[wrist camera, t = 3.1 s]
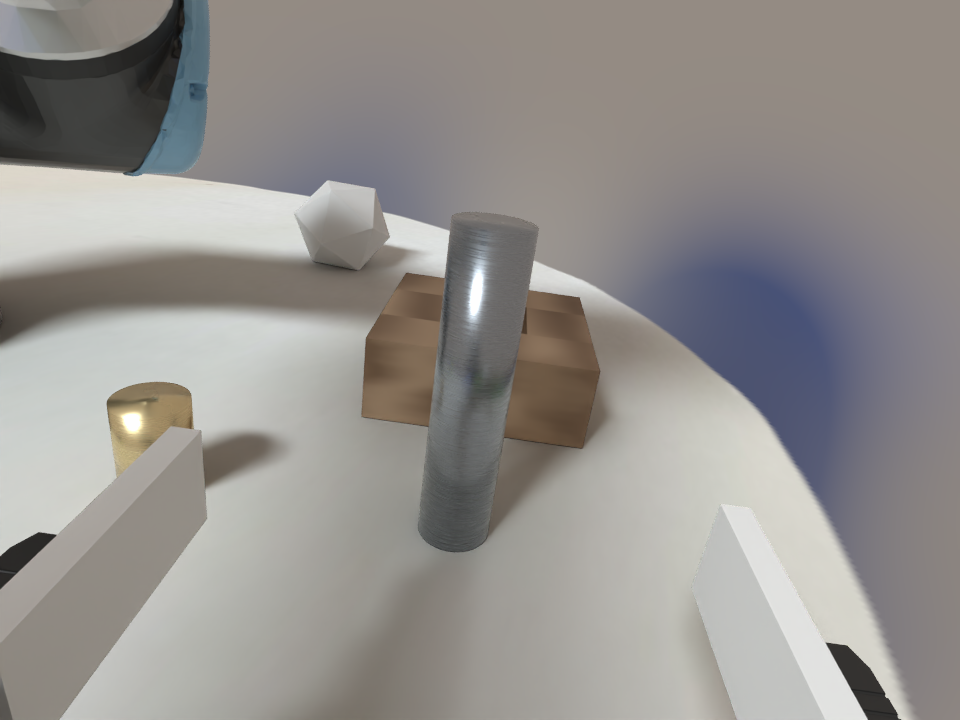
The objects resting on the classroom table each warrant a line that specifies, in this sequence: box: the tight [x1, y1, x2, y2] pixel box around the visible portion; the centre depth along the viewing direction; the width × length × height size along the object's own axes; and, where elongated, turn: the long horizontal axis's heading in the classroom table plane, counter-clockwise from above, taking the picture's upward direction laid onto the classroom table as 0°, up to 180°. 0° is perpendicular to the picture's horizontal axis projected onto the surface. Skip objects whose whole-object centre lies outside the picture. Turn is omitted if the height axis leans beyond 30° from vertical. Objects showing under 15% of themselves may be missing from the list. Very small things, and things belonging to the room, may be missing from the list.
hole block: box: [361, 273, 600, 448], centre depth 41 cm, size 13×13×5 cm
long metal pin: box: [418, 212, 539, 552], centre depth 25 cm, size 3×3×14 cm
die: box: [294, 181, 390, 270], centre depth 62 cm, size 8×9×10 cm
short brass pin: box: [107, 382, 194, 477], centre depth 27 cm, size 3×3×4 cm
